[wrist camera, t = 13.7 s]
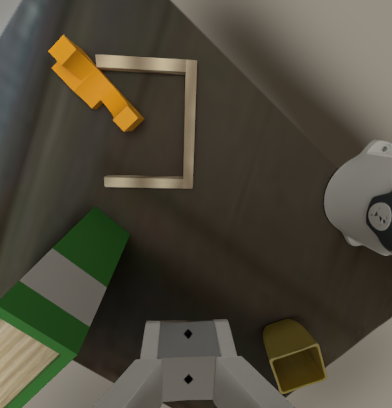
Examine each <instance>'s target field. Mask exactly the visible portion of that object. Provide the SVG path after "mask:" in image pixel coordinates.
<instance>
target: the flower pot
mask: <svg viewBox="0 0 392 408" xmlns="http://www.w3.org/2000/svg"><path fill="white" fill-rule="evenodd" d="M263 340H264V345H265V348H266V351H267V355H268V358H269V362H270V365H271V368H272V370H273V373H274V376H275V379H276V382H277V385H278V388H279V391H280V393H281V394H285V393H288V392H291V391H293V390H296V389H299V388H301V387H304V386H307V385H311V384H314V383H317V382H320V381H323V380H325V379H327V374H326V370H325V366H324V363H323V358H322V355H321V351H320V347H319V344H318V343H317V342H316V341H315V339H314V338H313V337H312V336H311V335H310V334H309V332H308V331H307V330H306V329H305V328H304V327H303V326H302V325H301V324H300V323H298V322H297V321H295V320H292V319H288V318H287V319H284V320H281V321H278V322H275V323H272V324H269V325H267V326H265V328H264V331H263Z"/></svg>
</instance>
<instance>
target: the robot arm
mask: <svg viewBox="0 0 392 408" xmlns="http://www.w3.org/2000/svg"><path fill="white" fill-rule="evenodd" d="M383 147H384V150H383V151H382V148H383ZM324 208H325V213H326V215H327V218H328V219H329V221H330V222H331V223H332V225H333V226H335V227H336V228H337V229H339V230H340V231H341V232H342V233H343V235H344V238H345V240H346V241H347V243H348V244H350V245H352V246H360V245H364V246H366V247H368V248H370V249H372V250H374V251H375V252H377V253H379V254H381V255H384V256H388V255H392V143H390V142H387V141H383V140H378V139H376V140H373V141H371V142H370V143H369V144H368V145H367V146H366V147H365V148H364V150H363V151H362V152H361V153H360V154H359V155H358V156H356V157H354V158H352V159H351V160H349V161H348V162H346V163H345V164H344V165H342V166H341V167H340V168H339V169H338V170H337V171H336V172H335V174H334V175H333V176H332V178H331V180H330V181H329V183H328V186H327V188H326V192H325V196H324ZM180 400H213V402H214V403H215V405H216V406H217V408H295V407H294V406H293V405H292V404H291V403H290V402H289V401H288V400H286V398H285V397H283V396H282V395H281V394H280V393H279V392H278V391H277V390H276V389H275V388H274V387H273V386H272V385H271V384H270V383H269V382H268V381H267V380H266V379H265V378H264V377H263V376H262V375H261V374H260V373H259V372H257V371H256V370H255V369H254V368H253V367H252V366H251V365H250V364H249V363H248V362H247V361H246V360H245V359H244V358H243V357H242V356H237V353H236V349H235V345H234V341H233V338H232V334H231V330H230V326H229V322H228V320H227V319H218V320H193V321H147V322H146V325H145V331H144V337H143V343H142V350H141V356H140V359H138V360H135V361H134V362H133V363H132V364H131V365H130V366H129V368H128V369H127V370H126V371H125V372H124V373H123V374H122V375H121V376H120V378H119V379H118V380H117V381H116V382H115V383H114V384H113V386H112V387H111V388H110V389H109V390H108V391H107V392H106V393H105V394H104V395H103V397H102V398H101V399H100V400H99V401H98V402H97V403H96V405H95V406H94V407H93V408H160V407H161V405H162V402H168V401H180Z"/></svg>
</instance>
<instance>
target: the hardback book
mask: <svg viewBox="0 0 392 408" xmlns="http://www.w3.org/2000/svg"><path fill="white" fill-rule="evenodd" d="M129 236H130V234H129V233H128V232H127V231H125V230H124V229H123V228H122V227H121V226H119V225H118V224H117V223H116V222H114V221H113V220H112V219H111V218H109V217H108V216H107V215H106V214H105V213H103V212H102V211H101V210H100V209H98V208H97V207H96V206H95V207H94V208H93V209H92V210H91V211H90V212H89V213H88V214H87V215H86V216H85V217H84V218H83V219H82V220H81V221H80V222H79V223H78V224H77V225H76V226H75V227H74V228H73V229H72V230H70V231H69V232H68V233H67V234H66V235H65V236H64V237H63V238H62V239H61V240H60V241H59V242H58V243H57V244H56V245H55V246H54V247H53V248H52V249H51V250H50V251H49V252H48V253H47V254H46V255H45V256H44V257H43V258H42V259H41V260H40V261H39V262H38V263H37V264H36V265H35V266H34V267H33V268H32V269H31V270H30V271H29V272H28V273H27V274H26V275H25V276H24V277H23V278H22V279H21V280H19V281H18V282H17V283H16V284H15V285H14V286H13V287H12V288H11V289H10V290H9V291H8V292H7V293H6V294H5V295H4V296H3V297H2V298H1V299H0V408H22V407H23V406H24V405H25V404H26V403H27V402H28V401H29V400H30V399H31V398H32V397H33V396H34V395H35V394H37V393H38V392H39V391H40V390H41V389H42V388H43V387H44V386H45V385H46V384H47V383H48V382H49V381H50V380H51V379H52V378H53V377H54V376H56V375H57V374H58V373H59V372H60V371H61V370H62V369H63V368H64V367H65V366H66V365H67V364H68V363H69V362H70V361H71V360H73V359H74V358H75V357H76V356H77V355H78V353H79V350H80V348H81V346H82V343H83V341H84V339H85V337H86V334H87V332H88V330H89V327H90V325H91V323H92V321H93V318H94V316H95V314H96V311H97V309H98V307H99V305H100V302H101V300H102V298H103V295H104V293H105V291H106V289H107V286H108V284H109V282H110V279H111V277H112V275H113V273H114V270H115V268H116V266H117V263H118V261H119V259H120V256H121V254H122V252H123V250H124V247H125V245H126V243H127V240H128V238H129Z"/></svg>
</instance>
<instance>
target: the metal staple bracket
mask: <svg viewBox="0 0 392 408" xmlns="http://www.w3.org/2000/svg"><path fill="white" fill-rule="evenodd" d="M95 55H96V67H97V68H98V69H100V70H108V71H126V72H145V73H163V74H182V75H185V115H184V160H183V177H178V176H136V175H107V176H105V177H104V183H105V187H133V188H183V189H193V165H194V136H195V107H196V78H197V60H182V59H165V58H148V57H131V56H114V55H97V54H95Z"/></svg>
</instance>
